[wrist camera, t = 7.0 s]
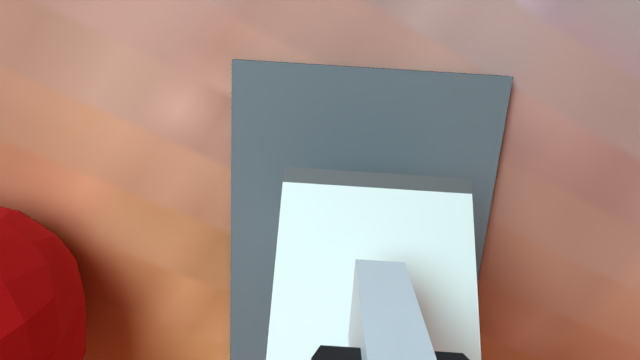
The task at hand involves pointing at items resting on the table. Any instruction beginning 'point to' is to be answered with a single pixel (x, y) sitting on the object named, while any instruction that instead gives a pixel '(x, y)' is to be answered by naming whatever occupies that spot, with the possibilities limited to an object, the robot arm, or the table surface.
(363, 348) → the robot arm
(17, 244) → the tomato
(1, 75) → the table surface
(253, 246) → the rubber mat
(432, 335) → the cream block
